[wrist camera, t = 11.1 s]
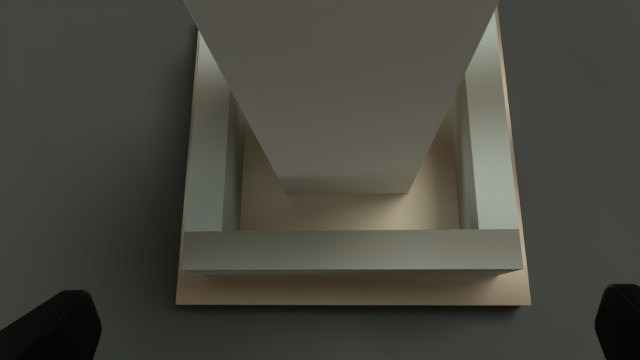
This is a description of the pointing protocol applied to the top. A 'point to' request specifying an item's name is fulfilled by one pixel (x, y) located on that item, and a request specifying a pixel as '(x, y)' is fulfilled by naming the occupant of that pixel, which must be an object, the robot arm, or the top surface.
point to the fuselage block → (343, 82)
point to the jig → (356, 212)
